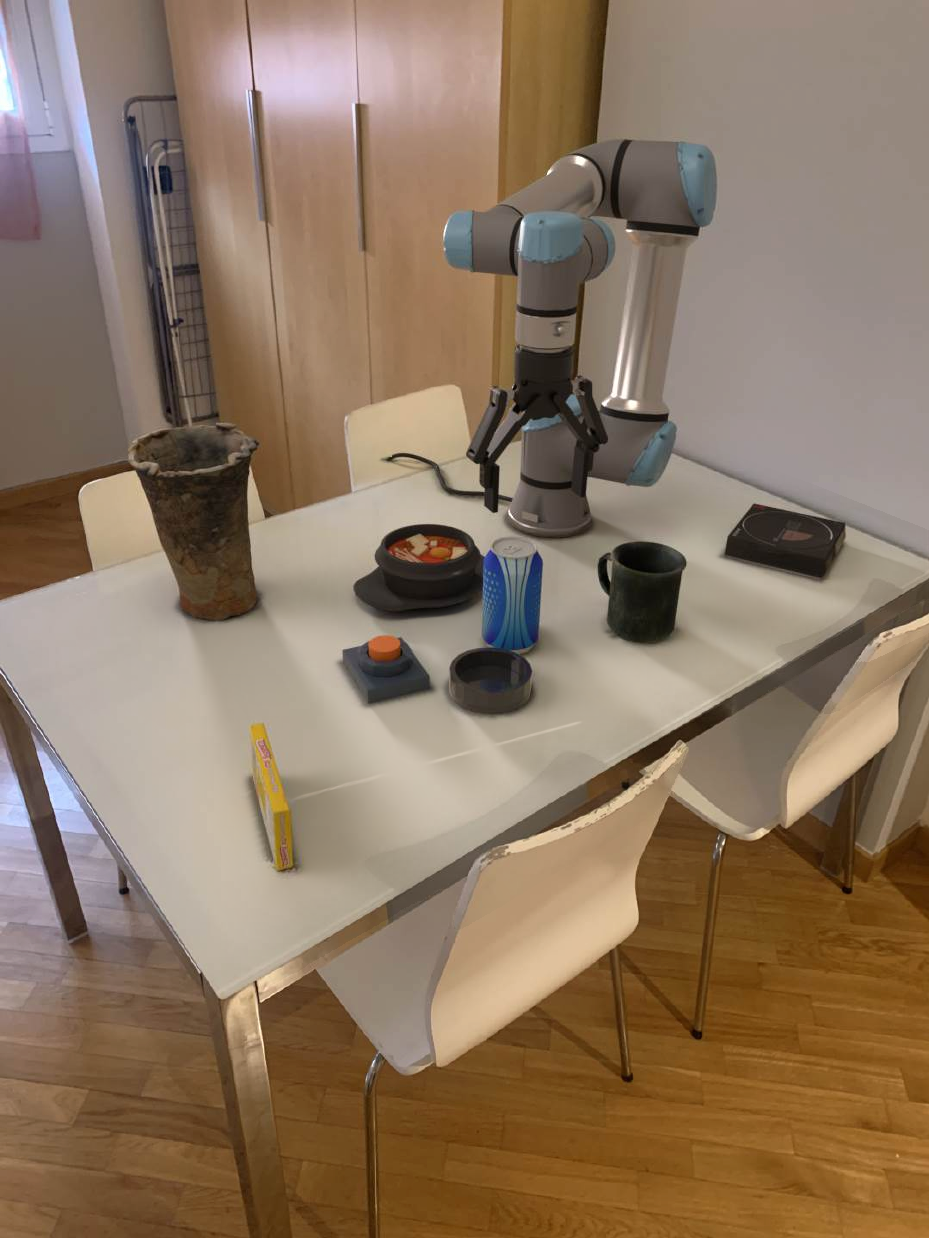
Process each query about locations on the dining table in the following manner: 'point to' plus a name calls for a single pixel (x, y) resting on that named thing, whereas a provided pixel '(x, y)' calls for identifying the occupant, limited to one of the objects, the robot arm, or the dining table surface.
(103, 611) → the dining table surface
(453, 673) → the dock
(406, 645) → the button base
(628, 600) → the mug
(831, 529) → the portable cd player
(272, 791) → the candy box
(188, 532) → the vase
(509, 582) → the beer can
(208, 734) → the dining table surface
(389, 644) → the button
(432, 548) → the casserole
